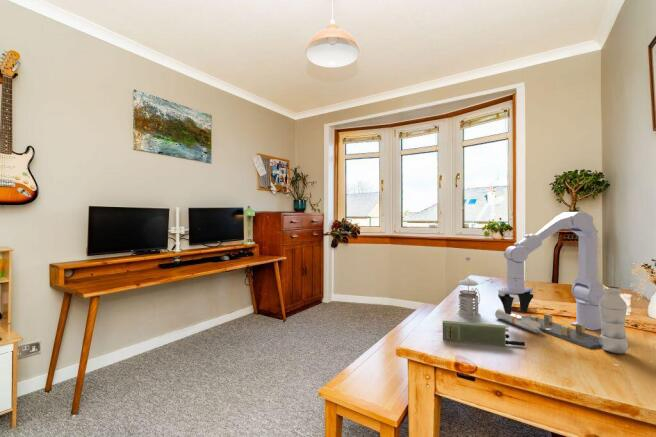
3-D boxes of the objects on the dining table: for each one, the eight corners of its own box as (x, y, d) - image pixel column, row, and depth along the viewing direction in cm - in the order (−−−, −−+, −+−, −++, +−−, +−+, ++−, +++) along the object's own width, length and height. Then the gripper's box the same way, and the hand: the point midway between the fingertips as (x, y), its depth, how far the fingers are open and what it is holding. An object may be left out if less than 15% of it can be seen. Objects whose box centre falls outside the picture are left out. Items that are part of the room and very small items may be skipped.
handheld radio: (442, 338, 113) (523, 345, 105) (443, 341, 110) (526, 350, 102) (442, 319, 113) (523, 325, 105) (442, 322, 109) (526, 329, 101)
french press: (472, 310, 144) (471, 255, 144) (489, 318, 132) (488, 258, 132) (452, 311, 142) (451, 255, 142) (467, 320, 131) (466, 259, 131)
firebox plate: (530, 317, 133) (530, 307, 133) (612, 345, 104) (612, 332, 104) (511, 320, 130) (511, 310, 130) (590, 349, 101) (590, 336, 101)
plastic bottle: (631, 358, 94) (630, 290, 94) (601, 353, 98) (600, 288, 98) (625, 350, 100) (624, 286, 100) (597, 345, 103) (596, 284, 103)
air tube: (494, 317, 131) (496, 307, 131) (501, 319, 132) (504, 310, 132) (533, 332, 114) (536, 321, 114) (541, 335, 115) (544, 324, 115)
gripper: (521, 274, 129) (521, 308, 129) (492, 276, 125) (492, 311, 125) (537, 277, 122) (537, 313, 122) (506, 280, 118) (507, 316, 118)
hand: (515, 312), depth 123 cm, fingers open, 7 cm apart
